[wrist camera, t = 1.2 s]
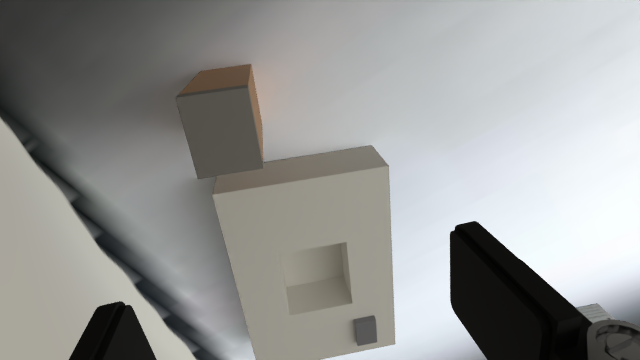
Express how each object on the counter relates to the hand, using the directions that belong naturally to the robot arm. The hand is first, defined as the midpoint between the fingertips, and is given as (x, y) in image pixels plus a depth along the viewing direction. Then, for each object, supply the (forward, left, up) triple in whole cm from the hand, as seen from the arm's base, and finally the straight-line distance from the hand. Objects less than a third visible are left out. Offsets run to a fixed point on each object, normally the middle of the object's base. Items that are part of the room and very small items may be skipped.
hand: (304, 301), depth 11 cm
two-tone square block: (-1, -3, -23) cm, 24 cm away
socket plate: (+15, +1, -23) cm, 27 cm away
